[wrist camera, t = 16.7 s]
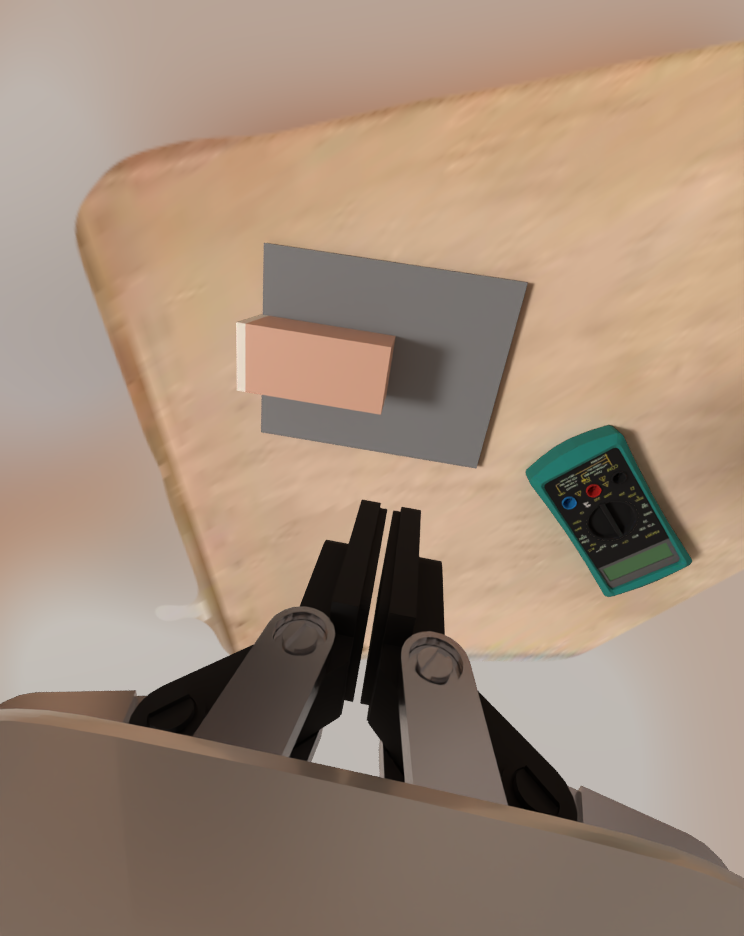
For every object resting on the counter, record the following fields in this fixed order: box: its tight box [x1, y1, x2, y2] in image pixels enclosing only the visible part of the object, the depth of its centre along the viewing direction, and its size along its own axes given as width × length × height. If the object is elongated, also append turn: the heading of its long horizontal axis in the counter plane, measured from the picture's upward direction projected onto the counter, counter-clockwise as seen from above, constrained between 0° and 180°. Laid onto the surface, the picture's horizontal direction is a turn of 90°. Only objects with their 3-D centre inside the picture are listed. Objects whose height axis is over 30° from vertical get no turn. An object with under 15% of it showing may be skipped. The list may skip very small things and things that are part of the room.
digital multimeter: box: [526, 425, 692, 597], centre depth 34 cm, size 7×15×3 cm, turn 37°
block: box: [236, 314, 396, 415], centre depth 29 cm, size 4×4×10 cm
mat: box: [261, 243, 528, 468], centre depth 32 cm, size 18×14×1 cm
